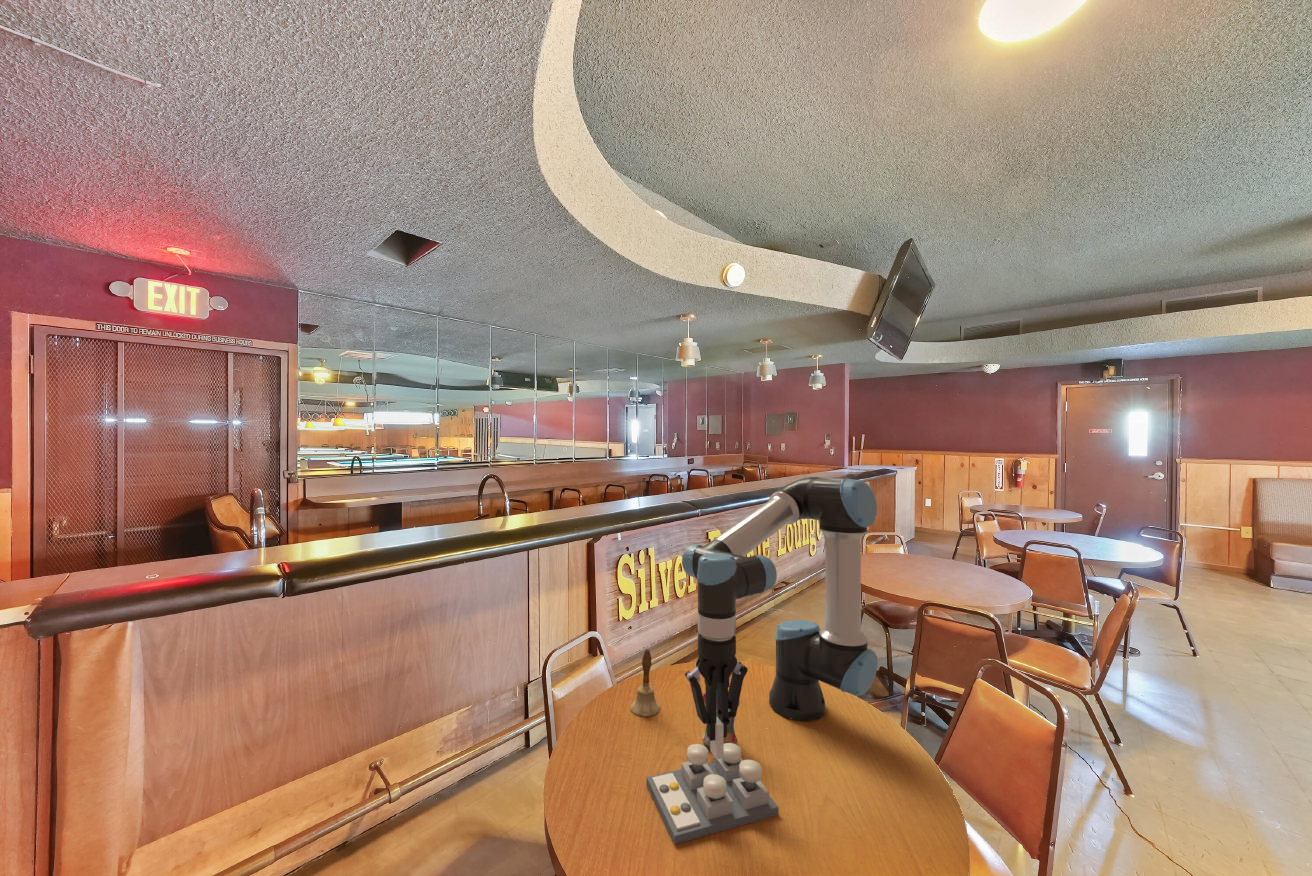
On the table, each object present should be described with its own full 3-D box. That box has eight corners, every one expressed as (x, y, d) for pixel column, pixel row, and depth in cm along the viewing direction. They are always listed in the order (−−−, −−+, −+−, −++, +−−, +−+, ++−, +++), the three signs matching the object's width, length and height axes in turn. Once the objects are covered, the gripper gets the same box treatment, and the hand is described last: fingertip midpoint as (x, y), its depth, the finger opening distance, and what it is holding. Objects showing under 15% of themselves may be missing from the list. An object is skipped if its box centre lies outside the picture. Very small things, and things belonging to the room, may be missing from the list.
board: (737, 762, 106) (737, 745, 106) (778, 814, 91) (778, 794, 91) (646, 784, 99) (646, 766, 99) (674, 844, 84) (674, 822, 84)
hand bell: (642, 697, 134) (643, 641, 134) (666, 707, 129) (667, 649, 130) (624, 710, 127) (625, 651, 128) (648, 720, 122) (649, 659, 123)
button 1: (734, 759, 104) (734, 741, 104) (744, 771, 100) (745, 753, 100) (717, 763, 102) (717, 745, 103) (726, 776, 98) (726, 757, 98)
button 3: (702, 760, 101) (702, 742, 101) (711, 773, 97) (711, 754, 97) (683, 764, 100) (684, 746, 100) (692, 778, 96) (692, 759, 96)
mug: (741, 756, 108) (741, 710, 109) (701, 754, 109) (702, 708, 109) (735, 726, 120) (735, 685, 121) (699, 724, 121) (700, 683, 121)
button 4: (719, 791, 94) (719, 772, 94) (729, 807, 90) (730, 787, 90) (699, 796, 92) (699, 776, 92) (709, 813, 88) (709, 792, 88)
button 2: (753, 776, 96) (754, 757, 97) (765, 791, 92) (765, 771, 92) (735, 781, 95) (735, 762, 95) (746, 796, 91) (746, 776, 91)
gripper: (736, 622, 98) (736, 736, 97) (679, 631, 93) (679, 749, 93) (755, 636, 91) (755, 758, 90) (694, 646, 86) (694, 774, 86)
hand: (716, 754), depth 92 cm, fingers closed
